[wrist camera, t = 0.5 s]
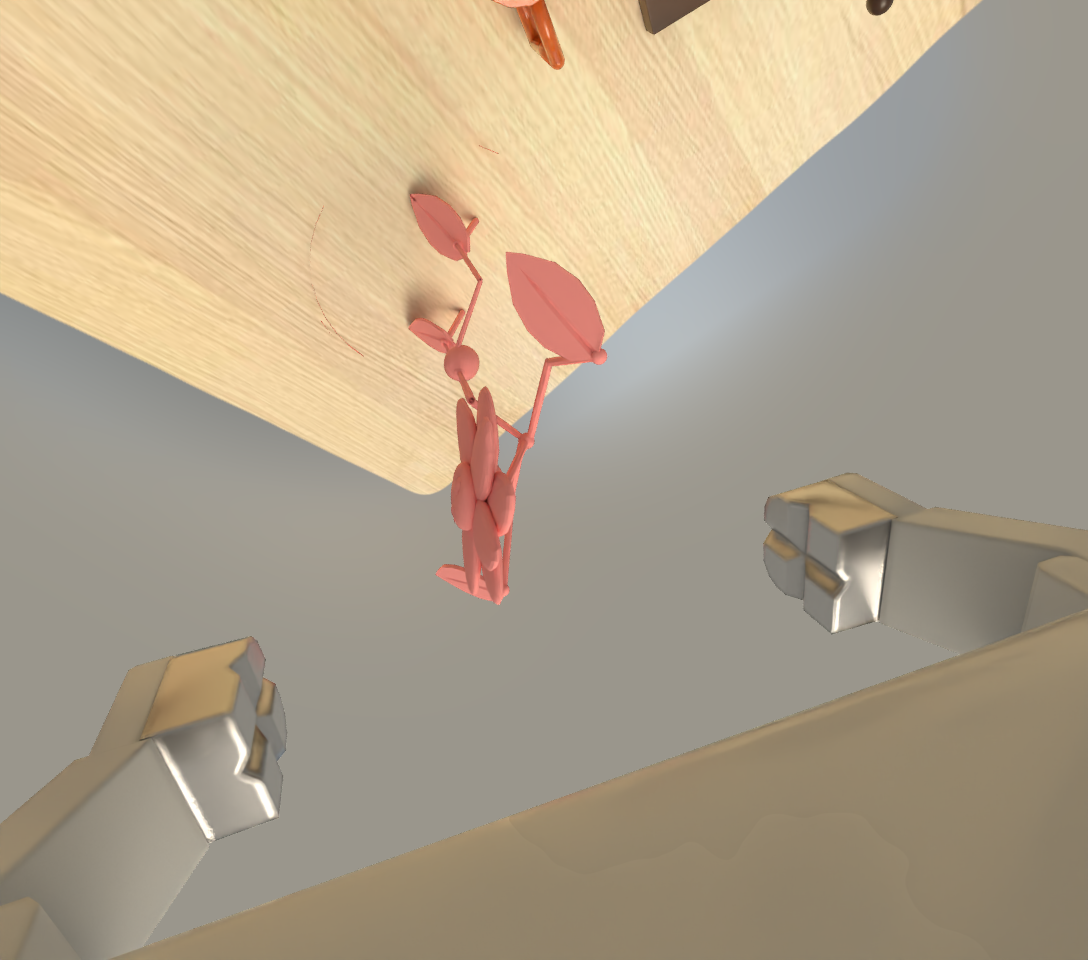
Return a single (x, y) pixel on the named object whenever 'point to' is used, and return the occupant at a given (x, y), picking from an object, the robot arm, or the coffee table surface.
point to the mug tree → (669, 3)
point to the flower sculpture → (479, 484)
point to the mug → (538, 29)
